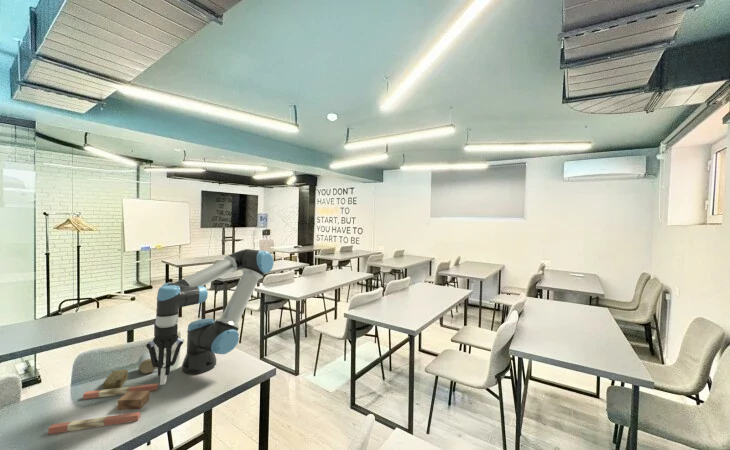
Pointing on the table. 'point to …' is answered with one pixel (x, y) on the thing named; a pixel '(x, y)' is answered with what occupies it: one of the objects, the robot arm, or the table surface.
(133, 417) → the rails
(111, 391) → the rails
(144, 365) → the ceramic mug
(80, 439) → the table surface
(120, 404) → the walnut block
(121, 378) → the stone block
